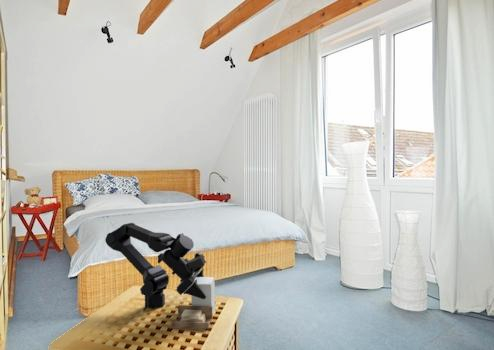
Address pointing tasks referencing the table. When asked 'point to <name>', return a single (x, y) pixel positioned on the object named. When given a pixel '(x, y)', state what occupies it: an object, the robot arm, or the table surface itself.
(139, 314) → the table surface
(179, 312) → the tray
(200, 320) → the offcut stack
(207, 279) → the supplement box
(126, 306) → the table surface
